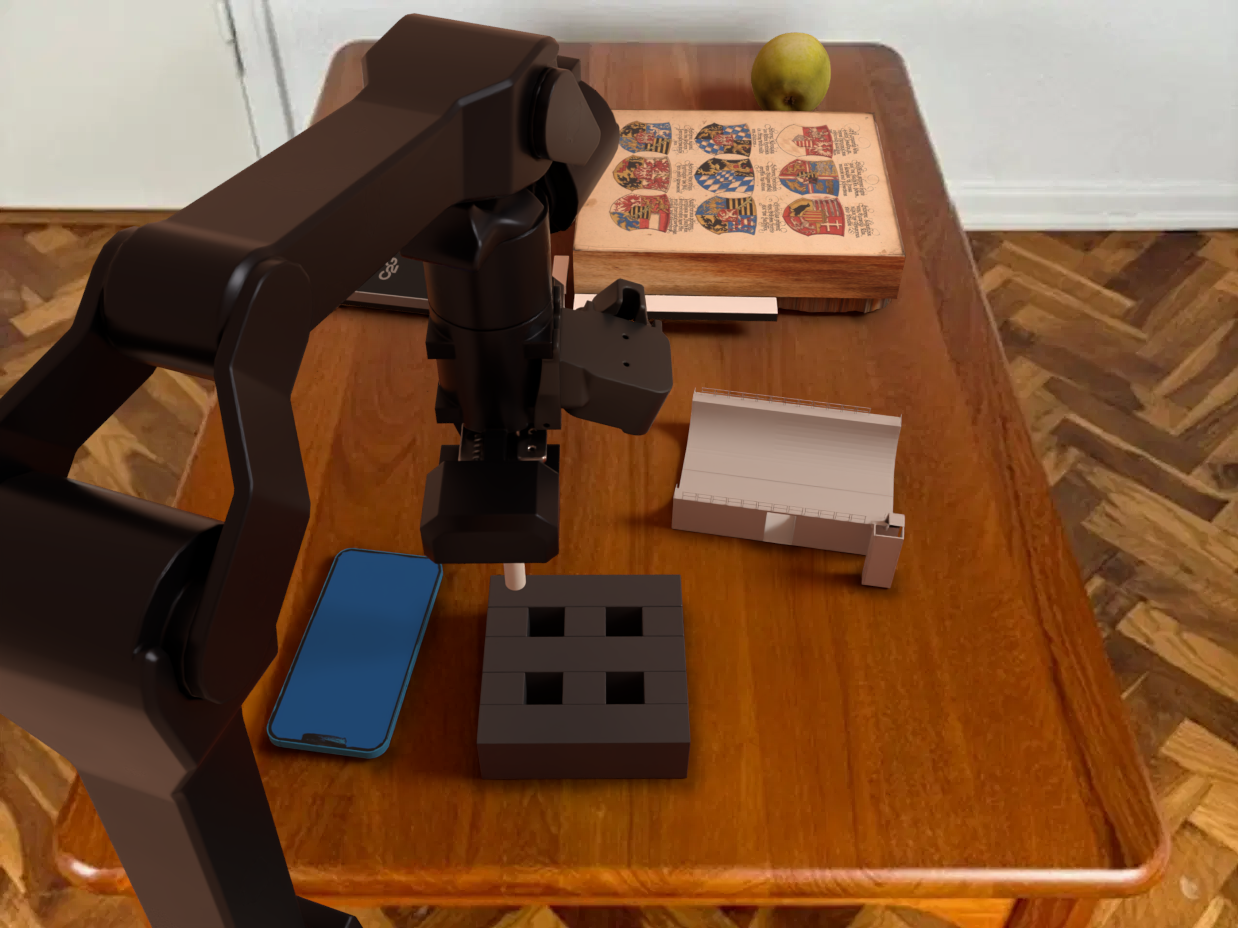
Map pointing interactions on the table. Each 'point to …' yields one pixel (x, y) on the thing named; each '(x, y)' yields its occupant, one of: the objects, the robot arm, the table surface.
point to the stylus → (515, 575)
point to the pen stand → (584, 679)
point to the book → (741, 215)
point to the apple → (791, 73)
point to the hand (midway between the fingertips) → (509, 515)
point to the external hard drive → (394, 288)
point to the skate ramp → (793, 478)
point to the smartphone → (357, 654)
